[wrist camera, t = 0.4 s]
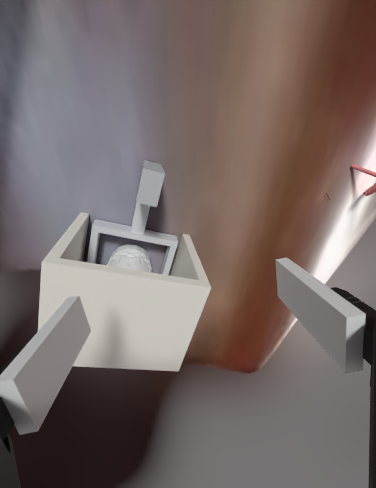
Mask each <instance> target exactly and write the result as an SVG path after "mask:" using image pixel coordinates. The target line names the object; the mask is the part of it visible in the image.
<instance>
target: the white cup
mask: <svg viewBox="0 0 376 488" xmlns="http://www.w3.org/2000/svg"><path fill="white" fill-rule="evenodd" d="M107 266H113V267H119V268H125V269H132V270H138V271H144V272H150V273H152V267H151V265H150V259H149V255H148V254H147V252H146V251H145V250H144V249H143V248H141V247H139V246H137V245H131V244H126V245H123V246H120V247H118V248H117V249H116V250H115V251H114V252H113V253H112V255H111V257H110V260H109V261H108V263H107Z"/></svg>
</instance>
